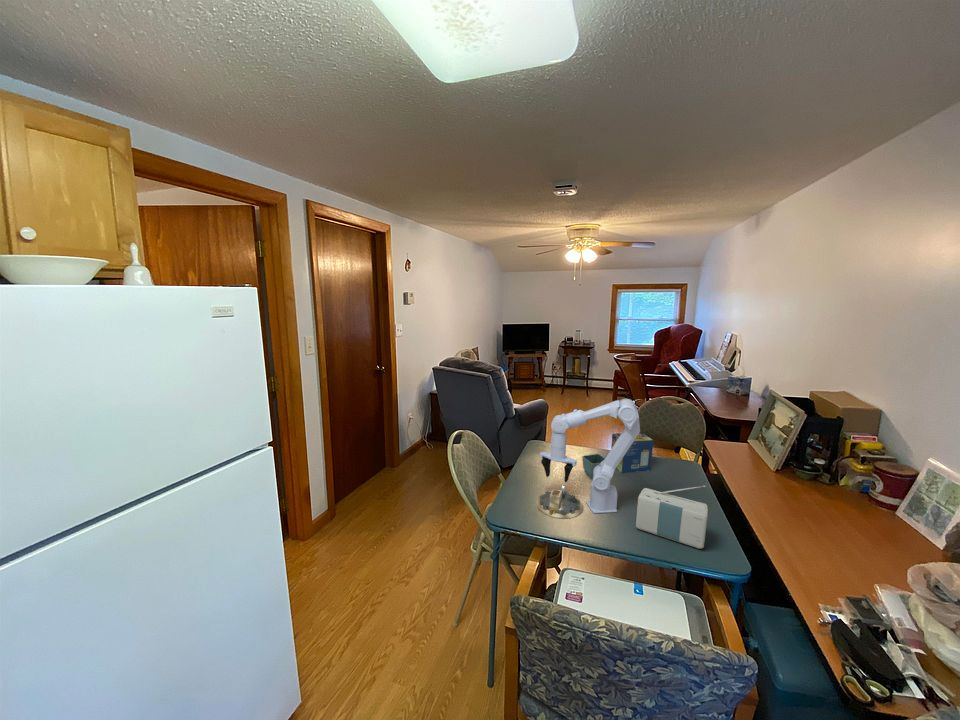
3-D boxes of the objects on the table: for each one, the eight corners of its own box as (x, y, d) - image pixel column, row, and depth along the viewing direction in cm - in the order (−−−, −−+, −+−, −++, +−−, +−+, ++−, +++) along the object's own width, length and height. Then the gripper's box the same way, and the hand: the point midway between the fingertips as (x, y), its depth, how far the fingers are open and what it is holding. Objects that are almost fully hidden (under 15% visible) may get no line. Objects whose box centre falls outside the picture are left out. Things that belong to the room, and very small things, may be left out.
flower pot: (591, 483, 170) (592, 463, 168) (580, 474, 178) (581, 455, 177) (608, 480, 172) (609, 461, 171) (597, 471, 181) (598, 453, 179)
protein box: (609, 463, 189) (611, 433, 186) (638, 461, 192) (640, 431, 189) (621, 473, 179) (623, 441, 176) (651, 470, 182) (654, 439, 179)
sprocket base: (573, 492, 162) (573, 486, 162) (590, 517, 144) (590, 510, 144) (531, 494, 160) (531, 488, 160) (543, 520, 142) (543, 513, 142)
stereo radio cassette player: (634, 530, 137) (639, 477, 133) (639, 519, 143) (644, 468, 140) (702, 553, 125) (709, 496, 122) (705, 539, 132) (711, 485, 128)
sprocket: (584, 499, 155) (585, 487, 154) (573, 519, 142) (574, 505, 141) (547, 490, 162) (547, 477, 161) (533, 507, 149) (534, 494, 148)
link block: (561, 502, 150) (562, 490, 149) (558, 509, 145) (559, 496, 145) (552, 500, 151) (552, 488, 150) (549, 507, 147) (550, 494, 146)
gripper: (579, 446, 151) (578, 479, 154) (545, 438, 159) (543, 469, 161) (573, 453, 146) (572, 486, 148) (538, 444, 153) (536, 476, 156)
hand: (556, 478), depth 154 cm, fingers open, 7 cm apart
